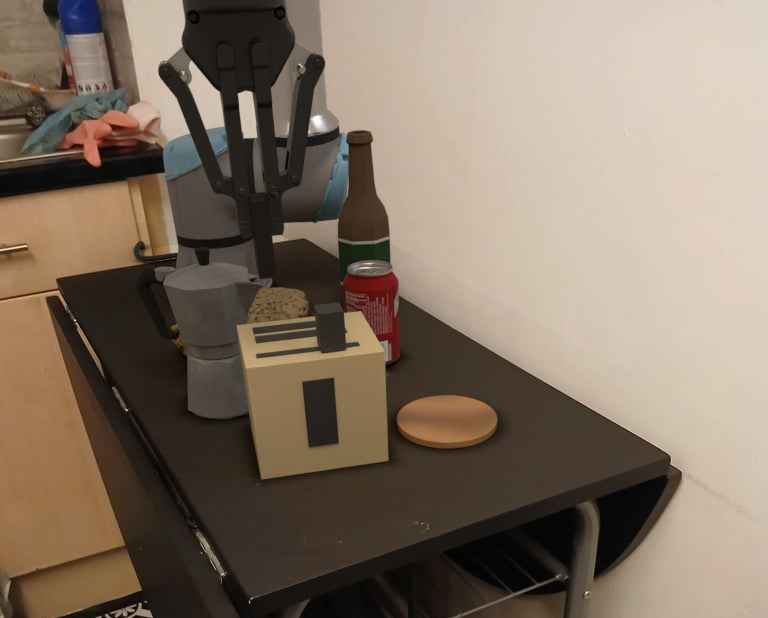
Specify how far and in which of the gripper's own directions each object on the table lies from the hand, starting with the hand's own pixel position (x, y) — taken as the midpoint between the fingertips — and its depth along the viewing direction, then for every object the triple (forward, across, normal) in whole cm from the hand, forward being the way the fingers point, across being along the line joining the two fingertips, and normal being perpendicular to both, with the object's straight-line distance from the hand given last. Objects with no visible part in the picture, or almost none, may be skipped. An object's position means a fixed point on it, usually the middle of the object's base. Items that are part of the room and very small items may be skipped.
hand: (266, 273), depth 70 cm
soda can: (+20, +14, +22) cm, 33 cm away
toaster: (+20, +3, +3) cm, 20 cm away
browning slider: (+7, +5, 0) cm, 9 cm away
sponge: (+20, -1, +32) cm, 38 cm away
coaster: (+20, +18, +3) cm, 27 cm away
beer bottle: (+20, +17, +40) cm, 48 cm away
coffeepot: (+20, -6, +16) cm, 26 cm away
